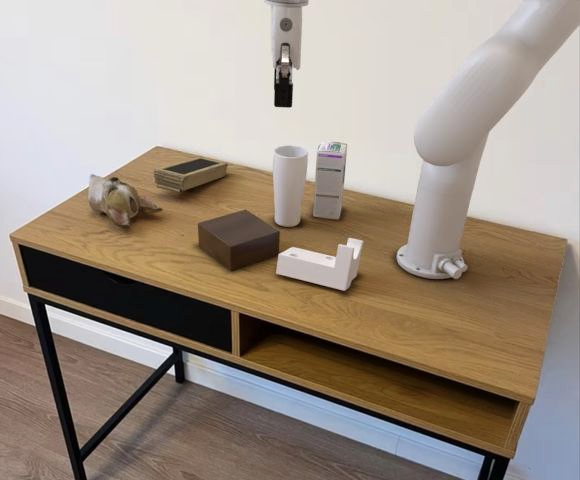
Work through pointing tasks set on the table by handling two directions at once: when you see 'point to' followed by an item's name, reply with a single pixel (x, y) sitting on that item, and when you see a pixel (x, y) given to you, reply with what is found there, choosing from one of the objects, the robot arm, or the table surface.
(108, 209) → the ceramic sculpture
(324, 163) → the syrup box
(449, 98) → the robot arm
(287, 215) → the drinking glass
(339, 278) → the bracket
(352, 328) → the table surface
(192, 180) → the box
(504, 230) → the table surface
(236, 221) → the walnut block
